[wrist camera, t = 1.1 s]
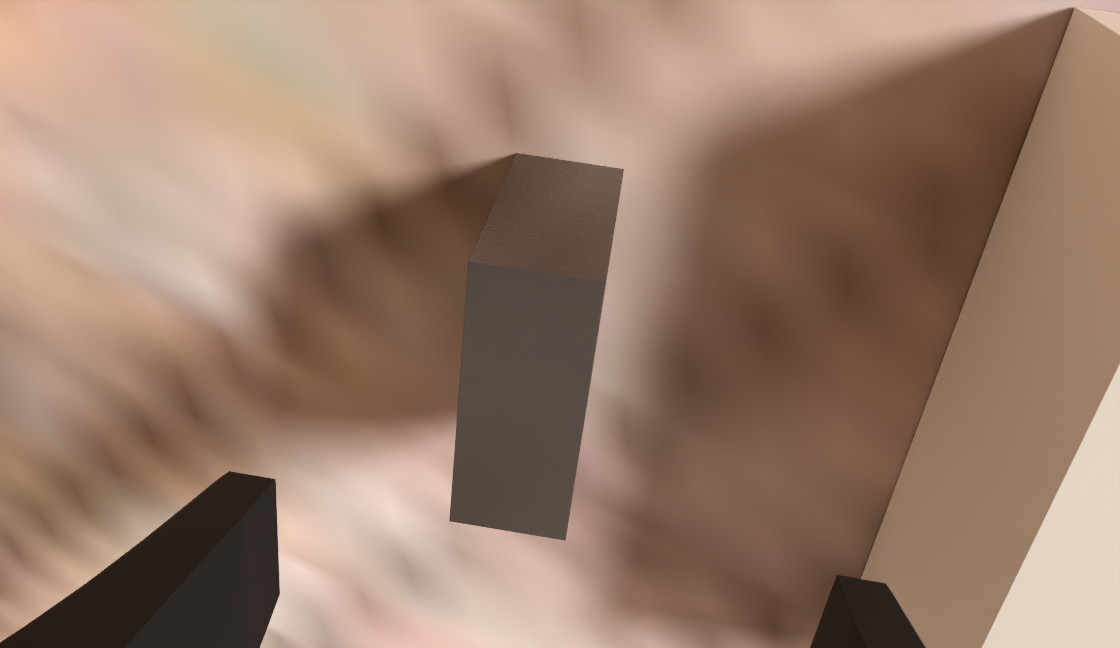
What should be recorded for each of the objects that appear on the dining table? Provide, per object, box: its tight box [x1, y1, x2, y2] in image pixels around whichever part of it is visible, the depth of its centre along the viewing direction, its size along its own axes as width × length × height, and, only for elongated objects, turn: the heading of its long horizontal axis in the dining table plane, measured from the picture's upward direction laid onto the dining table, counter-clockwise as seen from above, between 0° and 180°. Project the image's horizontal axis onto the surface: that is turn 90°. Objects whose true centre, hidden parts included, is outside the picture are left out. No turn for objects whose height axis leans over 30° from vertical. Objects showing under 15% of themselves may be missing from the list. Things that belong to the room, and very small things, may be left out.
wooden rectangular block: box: [450, 153, 624, 540], centre depth 19 cm, size 6×2×5 cm, turn 174°
